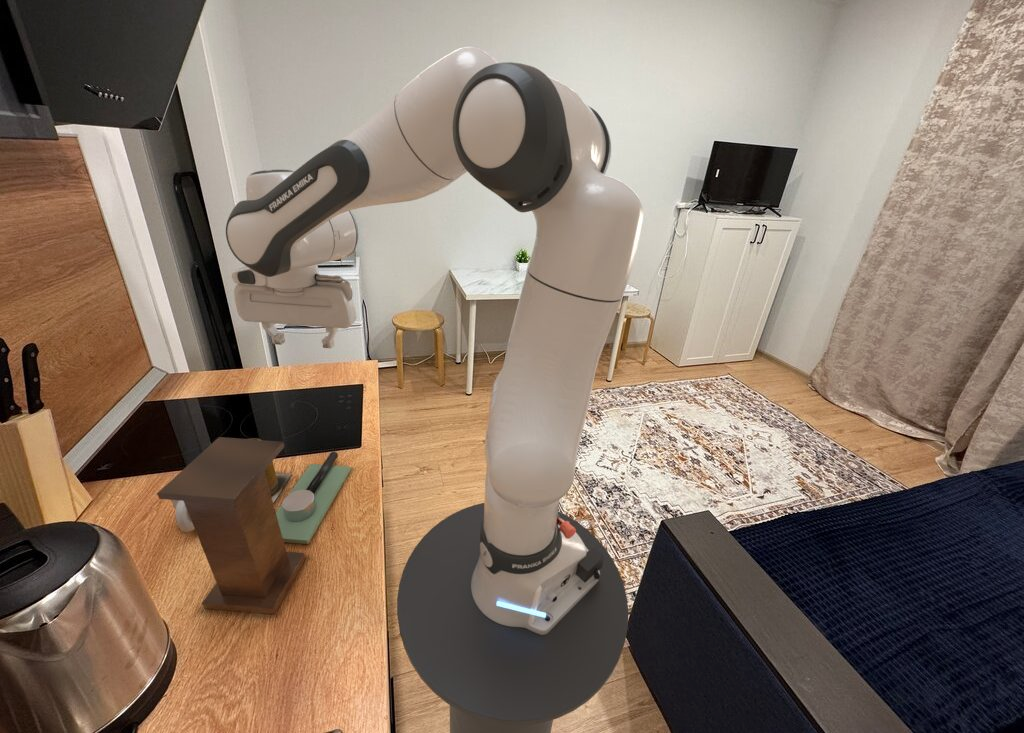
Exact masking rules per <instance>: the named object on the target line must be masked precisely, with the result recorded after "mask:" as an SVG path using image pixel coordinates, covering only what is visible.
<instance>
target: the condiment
mask: <svg viewBox="0 0 1024 733" xmlns="http://www.w3.org/2000/svg"><path fill="white" fill-rule="evenodd" d="M249 439H251V440H263V439H262V438H259V437H251V438H249ZM264 471H265V475H266V479H267V482H268V486H269V490H270V493H271V497H272V501H273V504H274V503H275V501H276V500H277V499H278V497H279V496H280V494H281V493H282V491H283V489H284V487H285V486H286V484H287V482H288V481H289V479H290V477H291V476H292V473H276V470H275V465H274V460H273V461H272V462H271V463H270V464H269V466H268V467H267V468H266V469H265V470H264Z"/></svg>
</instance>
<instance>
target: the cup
mask: <svg viewBox="0 0 1024 733" xmlns="http://www.w3.org/2000/svg"><path fill="white" fill-rule="evenodd" d="M170 501H171V503H172V506H173V508H174V510H175V512H174V516H175V517H174V518H175V523H176V525H177V527H178V529H179V530H180V531H182V532H184V533H189V532H192V531H195V528H194V526H193V523H192V521H191V518H190V516H189V513H188V511H187V509H186V506H185V504H184V501H181V500H170Z"/></svg>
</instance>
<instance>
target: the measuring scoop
mask: <svg viewBox="0 0 1024 733" xmlns="http://www.w3.org/2000/svg"><path fill="white" fill-rule="evenodd" d="M338 457H339V453H338V452H337V451H331V452H330V453H329V455H328V456H327V458H326V459H325V460H324V462H323V464H321V465H322V467H321V468H320V470H319V471H318V473H317V474H316V475H315V477H314V478H313V480H312V481H311V483H310V484H309V486H308V487H307V489H306V490H298V491H295V492H292V493H290V492H289V493H290V494H289V493H288V494H287V495H286V496H285V497H284V498H283V499H282V502H281V504H282V508H283V512H284V515H285V518H286V519H287V520H289V521H292V522H298V521H302V520H305V519H307V518H309V517H310V516H311V515H312V514H313V513H314V512H315V510H316V503H315V498H314V493H315V492H316V490H317V489H318V487H319V485H320V484H321V482H322V481H323V479H324V478H325V476H326V474H327V473H328V471H329V470H330V468H331V467H332V465H333V466H334V464H335V462H336V461H337V459H338Z"/></svg>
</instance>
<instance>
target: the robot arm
mask: <svg viewBox="0 0 1024 733" xmlns="http://www.w3.org/2000/svg"><path fill="white" fill-rule="evenodd" d="M611 141H612V140H611V135H610V132H609V130H608V128H607V125H606V123H605V121H604V120H603V118H602V117H601V115H600V114H599V113H598V111H596V110H595V109H594V108H593V107H591V106H590V105H588V104H587V103H586V102H584V100H583V99H582V98H581V97H580V95H579V94H578V93H577V92H576V91H575V90H574V89H572V88H570V87H569V86H567V85H566V84H565V83H562V82H561V81H559V80H557V79H555V78H553V77H551V76H548V75H546V74H545V73H544V72H543V71H541V70H540V69H538V68H536V67H534V66H532V65H528V64H525V63H520V62H512V61H510V62H509V61H506V62H504V61H503V62H499V61H497V60H496V58H494V57H493V56H492V55H490V54H489V53H488V52H486V51H484V50H483V49H481V48H478V47H474V46H463V47H460V48H457V49H455V50H453V51H452V52H450V53H448V54H446V55H445V56H443V57H442V58H440V59H438V60H436V61H435V62H434V63H432V64H431V65H429V66H428V67H427V68H425V69H424V70H422V71H421V72H420V73H418V75H416V76H415V77H414V78H413V79H412V80H410V81H409V82H408V83H407V84H406V85H405V86H404V87H403V88H402V89H401V90H399V91H398V93H396V95H395V96H393V97H392V98H391V99H390V100H389V101H388V102H387V103H386V104H384V105H383V106H382V107H381V108H379V110H377V112H375V113H374V114H373V115H371V117H369V118H368V119H367V120H365V121H364V122H363V123H361V124H360V125H359V126H358V127H356V128H355V129H354V130H352V131H350V132H349V133H348V134H346V135H345V136H343V137H341V138H340V139H339V140H337V141H335V142H334V143H332V144H331V145H329V146H328V147H327V148H325V149H323V150H321V151H320V152H318V153H316V154H315V155H314V156H313V157H311V158H310V159H309V160H307V161H306V162H304V164H302V165H301V166H300V167H298V168H297V169H296V170H290V169H271V170H266V169H265V170H257V171H255V172H252V173H250V174H249V175H248V176H247V177H246V181H245V182H246V184H245V194H246V199H245V200H241V201H238V202H237V203H236V204H235V206H234V207H233V208H232V210H231V212H230V214H229V216H228V218H227V220H226V225H225V236H226V242H227V245H228V247H229V250H230V252H231V253H232V254H233V256H234V258H236V259H237V260H238V261H239V262H240V263H241V264H243V265H244V266H243V267H240V268H238V269H236V270H233V271H232V272H231V279H232V281H233V282H234V283H235V284H236V285H235V286H234V288H233V297H234V303H235V307H236V312H237V315H238V316H239V317H240V318H241V319H242V321H244V322H249V323H261V327H262V329H263V330H264V332H266V333H267V334H268V335H269V337H270V339H271V343H272V345H280V346H281V345H283V344H285V343H286V338H285V333H284V332H280V331H279V330H278V329H277V327H276V324H278V325H294V326H306V327H318V328H319V327H321V328H325V332H326V333H328V335H326V336H324V338H322V339H321V344H322V348H323V349H333V348H334V346H335V337H336V334H337V332H338V330H339V329H349V328H350V327H351V326H352V325H353V324H354V323H355V322H356V321H357V312H356V307H355V303H354V300H353V296H354V295H353V286H352V284H351V283H350V282H349V280H347V279H346V278H343V276H341V275H328V274H321V273H320V272H319V265H321V264H326V263H329V262H330V263H331V262H334V261H338V260H342V259H344V258H346V257H349V256H351V255H352V254H353V253H354V252H355V250H356V248H357V245H358V242H359V229H358V224H357V220H356V218H355V216H354V214H353V212H352V210H357V209H361V208H367V207H374V206H381V205H389V204H397V203H398V204H399V203H406V202H412V201H417V200H420V199H423V198H426V197H428V196H431V195H433V194H435V193H437V192H439V191H441V190H443V189H445V188H446V187H448V186H450V185H452V184H453V183H454V182H455V181H457V180H458V179H460V178H461V177H463V176H464V175H466V173H468V174H469V175H470V176H471V177H472V178H473V179H475V180H476V181H477V182H478V183H479V184H481V185H482V186H484V187H485V188H486V189H488V191H490V192H492V193H494V194H495V195H497V196H498V197H499V198H500V199H502V200H503V201H504V202H506V203H507V204H508V205H509V206H510V207H511V208H513V209H514V210H516V211H517V212H518V213H529V212H532V215H533V217H534V219H535V227H536V230H535V231H536V233H535V239H534V244H533V248H532V251H531V256H530V259H529V263H528V266H527V268H526V273H525V277H524V281H523V283H522V284H523V285H522V286H521V287H522V288H521V291H520V296H519V298H518V302H517V306H516V310H515V313H514V318H513V320H512V324H511V329H510V333H509V337H508V342H507V346H506V352H505V357H504V361H503V366H502V368H501V369H500V371H499V373H498V374H497V376H496V378H495V380H494V382H493V384H492V387H491V391H490V398H489V406H488V413H487V414H488V416H487V424H486V431H485V432H486V433H485V439H484V457H485V464H486V470H485V483H484V500H483V501H484V502H483V503H484V515H483V518H482V521H481V529H480V556H479V560H478V563H477V565H476V568H475V570H474V572H473V575H472V580H471V591H472V595H473V598H474V601H475V603H476V605H477V606H478V608H479V609H480V610H481V612H482V613H483V614H484V615H486V616H487V617H488V618H489V619H491V620H493V621H494V622H496V623H499V624H502V625H505V626H510V627H523V628H527V629H529V630H531V631H533V632H535V633H537V634H541V635H545V634H547V633H548V632H549V631H550V630H551V629H552V628H553V627H554V626H555V625H556V624H557V623H558V622H559V621H560V620H561V619H562V618H563V617H564V616H565V615H566V614H567V613H568V612H569V611H570V610H571V609H572V608H573V607H574V606H575V605H576V604H577V603H578V602H579V601H580V600H581V599H582V598H583V596H584V595H585V594H586V593H587V592H588V591H589V590H590V589H591V588H592V587H593V586H594V585H595V584H596V583H597V582H598V581H599V579H600V573H599V570H600V569H601V568H602V566H603V561H604V557H605V556H604V555H603V554H602V553H601V552H599V551H598V550H597V549H596V548H595V547H592V548H591V549H590V550H588V549H587V548H586V547H585V545H584V543H583V541H582V540H581V538H580V537H579V535H578V534H577V533H576V529H575V528H574V527H573V526H572V525H570V523H569V521H564V520H562V519H561V518H560V515H559V514H558V511H559V508H560V507H559V506H560V500H561V499H562V498H564V497H565V495H567V493H569V491H570V489H571V488H572V486H573V484H574V479H575V472H576V466H577V457H578V452H579V446H580V443H581V439H582V434H583V430H584V427H585V423H586V419H587V415H588V410H589V405H590V401H591V396H592V392H593V388H594V387H593V386H594V380H595V377H596V373H597V369H598V365H599V361H600V359H601V355H602V352H603V350H604V347H605V344H606V341H607V339H608V337H609V334H610V331H611V328H612V326H613V324H614V321H615V318H616V316H617V312H618V310H619V307H620V305H621V302H622V300H623V297H624V294H625V291H626V289H627V286H628V283H629V280H630V277H631V274H632V270H633V267H634V263H635V259H636V256H637V252H638V248H639V243H640V239H641V234H642V227H643V221H644V207H643V203H642V200H641V199H640V197H639V195H638V194H637V193H636V191H634V190H633V188H631V187H630V186H629V185H628V184H626V183H625V182H624V181H622V180H620V179H617V178H616V177H613V176H610V175H607V174H606V173H607V171H608V169H609V165H610V162H611V157H612V142H611ZM545 619H549V620H550V621H546V620H545Z"/></svg>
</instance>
